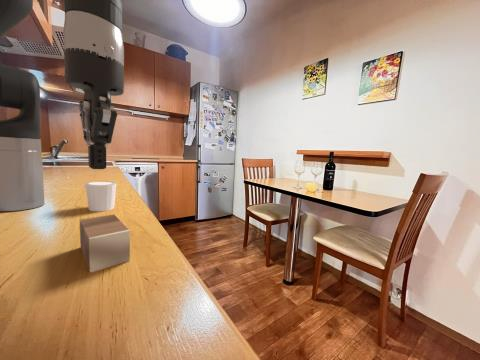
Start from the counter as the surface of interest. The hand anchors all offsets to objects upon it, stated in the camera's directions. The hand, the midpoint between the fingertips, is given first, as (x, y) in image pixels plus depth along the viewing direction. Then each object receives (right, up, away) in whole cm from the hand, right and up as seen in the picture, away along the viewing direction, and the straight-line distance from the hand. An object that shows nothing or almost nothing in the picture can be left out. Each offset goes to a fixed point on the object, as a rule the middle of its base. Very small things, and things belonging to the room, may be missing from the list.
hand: (97, 168), depth 34 cm
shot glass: (-14, -10, +21) cm, 27 cm away
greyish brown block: (-1, -11, +2) cm, 11 cm away
